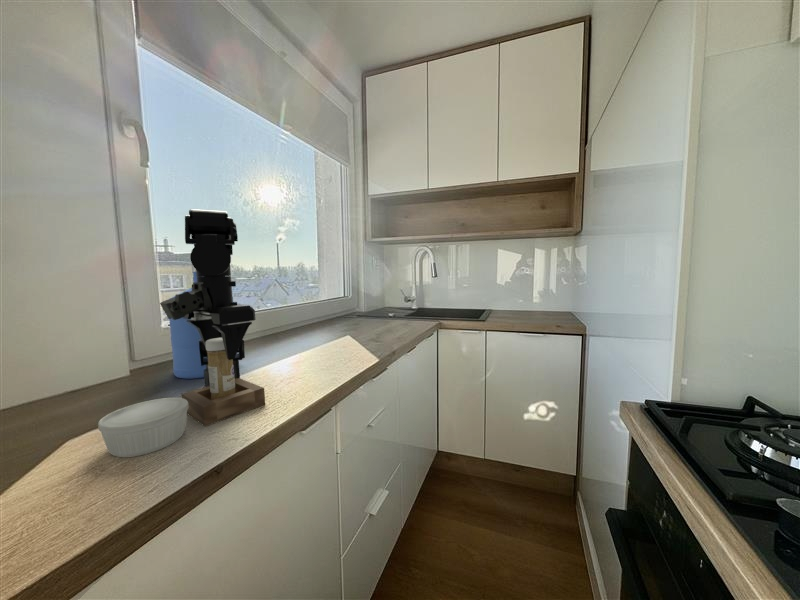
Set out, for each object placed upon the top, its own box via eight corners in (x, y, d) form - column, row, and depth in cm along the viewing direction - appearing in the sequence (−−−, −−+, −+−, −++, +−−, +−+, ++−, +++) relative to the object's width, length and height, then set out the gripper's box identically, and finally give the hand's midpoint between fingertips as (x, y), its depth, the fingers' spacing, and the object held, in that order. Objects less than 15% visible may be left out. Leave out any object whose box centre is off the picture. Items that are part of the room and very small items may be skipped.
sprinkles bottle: (238, 406, 61) (232, 339, 60) (211, 412, 59) (205, 342, 58) (235, 398, 65) (231, 335, 64) (210, 404, 63) (205, 338, 62)
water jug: (250, 366, 91) (243, 270, 89) (191, 383, 77) (181, 270, 75) (220, 360, 99) (213, 272, 97) (162, 374, 86) (153, 272, 83)
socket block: (239, 393, 70) (238, 377, 69) (265, 404, 63) (264, 387, 63) (182, 410, 61) (181, 393, 61) (205, 426, 54) (203, 407, 54)
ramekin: (127, 431, 54) (124, 401, 53) (200, 421, 57) (198, 393, 56) (81, 469, 43) (77, 433, 43) (174, 454, 46) (171, 420, 46)
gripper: (147, 278, 59) (155, 359, 61) (182, 276, 48) (191, 375, 49) (211, 277, 68) (217, 347, 69) (253, 275, 57) (259, 359, 58)
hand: (220, 356), depth 61 cm, fingers open, 9 cm apart
